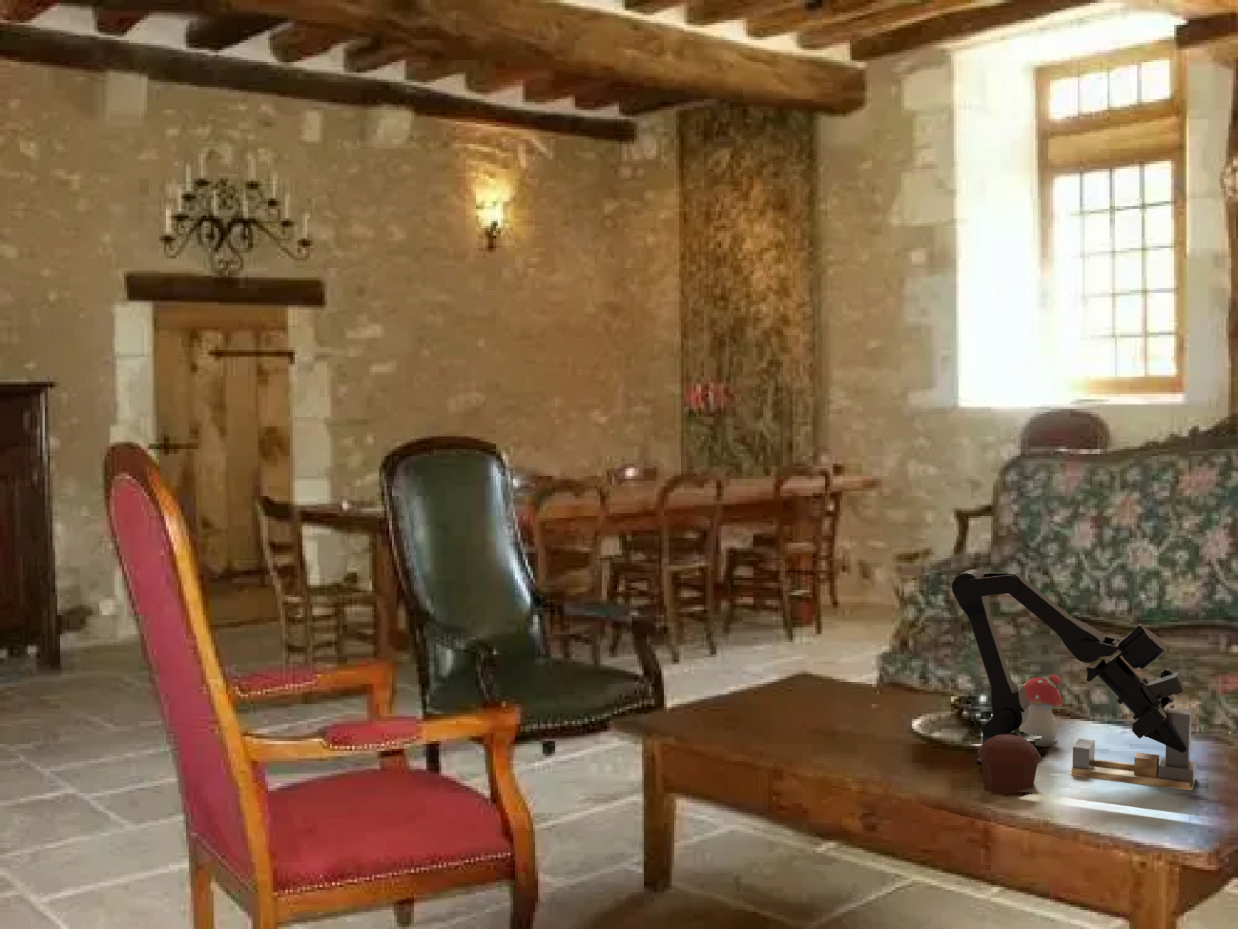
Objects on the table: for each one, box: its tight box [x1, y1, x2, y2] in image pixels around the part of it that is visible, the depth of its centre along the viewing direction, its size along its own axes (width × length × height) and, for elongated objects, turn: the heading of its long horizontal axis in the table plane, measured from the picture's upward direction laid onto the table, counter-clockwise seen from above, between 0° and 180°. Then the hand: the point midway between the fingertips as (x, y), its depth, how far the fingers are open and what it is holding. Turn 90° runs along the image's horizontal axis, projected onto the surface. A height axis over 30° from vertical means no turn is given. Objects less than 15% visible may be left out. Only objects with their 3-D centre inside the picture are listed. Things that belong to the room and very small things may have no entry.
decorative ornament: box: [1018, 674, 1063, 747], centre depth 294 cm, size 9×6×15 cm
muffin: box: [977, 734, 1042, 797], centre depth 262 cm, size 12×11×10 cm
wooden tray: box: [1068, 758, 1198, 791], centre depth 267 cm, size 22×10×2 cm, turn 63°
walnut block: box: [1133, 752, 1160, 778], centre depth 266 cm, size 4×4×4 cm
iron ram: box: [1159, 707, 1197, 787], centre depth 263 cm, size 6×7×13 cm
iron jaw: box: [1072, 738, 1096, 770], centre depth 271 cm, size 3×7×5 cm, turn 153°
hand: (1186, 748), depth 263 cm, fingers closed on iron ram, 4 cm apart
